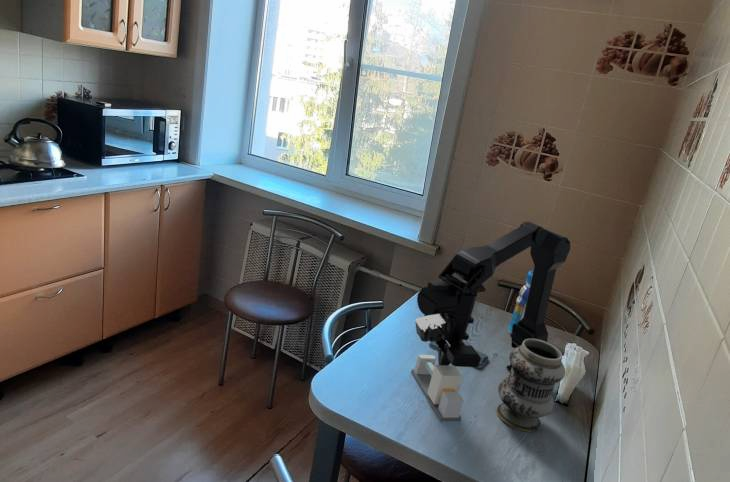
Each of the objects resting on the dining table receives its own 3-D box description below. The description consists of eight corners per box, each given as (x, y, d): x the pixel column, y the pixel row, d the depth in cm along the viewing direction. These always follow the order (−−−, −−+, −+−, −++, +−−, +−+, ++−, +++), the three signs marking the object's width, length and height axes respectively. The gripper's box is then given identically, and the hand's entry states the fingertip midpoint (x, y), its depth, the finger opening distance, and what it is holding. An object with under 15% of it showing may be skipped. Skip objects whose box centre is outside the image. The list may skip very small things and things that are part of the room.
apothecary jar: (523, 441, 109) (549, 367, 103) (480, 407, 118) (502, 337, 112) (556, 427, 116) (582, 357, 111) (514, 396, 125) (535, 330, 120)
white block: (447, 393, 118) (455, 365, 116) (454, 404, 115) (462, 376, 113) (427, 393, 117) (434, 365, 115) (433, 404, 113) (441, 375, 111)
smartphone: (439, 334, 147) (489, 355, 140) (438, 340, 148) (488, 360, 141) (428, 343, 141) (480, 365, 134) (426, 349, 141) (479, 371, 134)
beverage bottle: (515, 325, 165) (533, 267, 159) (539, 337, 160) (559, 278, 154) (502, 331, 159) (520, 271, 153) (526, 344, 154) (546, 282, 148)
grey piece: (429, 372, 128) (434, 353, 126) (460, 420, 112) (466, 399, 110) (411, 372, 126) (415, 353, 125) (439, 420, 110) (445, 399, 109)
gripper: (410, 286, 118) (395, 345, 123) (440, 329, 101) (421, 396, 106) (454, 290, 121) (438, 347, 126) (491, 332, 105) (470, 396, 110)
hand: (440, 369), depth 117 cm, fingers closed
